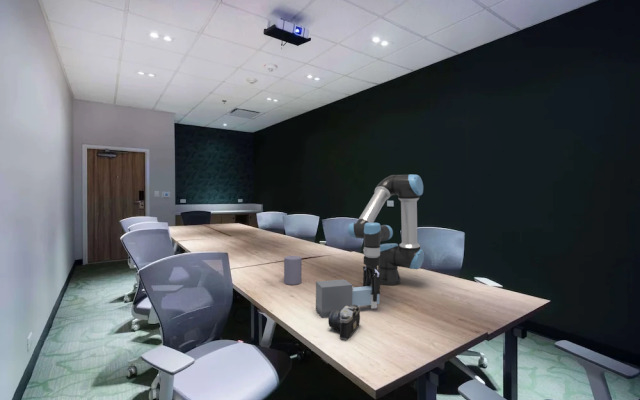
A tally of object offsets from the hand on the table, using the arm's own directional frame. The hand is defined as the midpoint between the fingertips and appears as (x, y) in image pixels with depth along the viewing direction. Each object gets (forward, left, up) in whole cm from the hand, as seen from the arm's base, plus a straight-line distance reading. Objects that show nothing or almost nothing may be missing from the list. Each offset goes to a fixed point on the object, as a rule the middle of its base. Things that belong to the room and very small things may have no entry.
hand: (370, 305), depth 141 cm
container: (+26, -49, -1) cm, 56 cm away
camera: (+21, +18, -2) cm, 27 cm away
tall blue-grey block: (+6, 0, +1) cm, 6 cm away
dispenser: (+18, 0, -1) cm, 19 cm away
